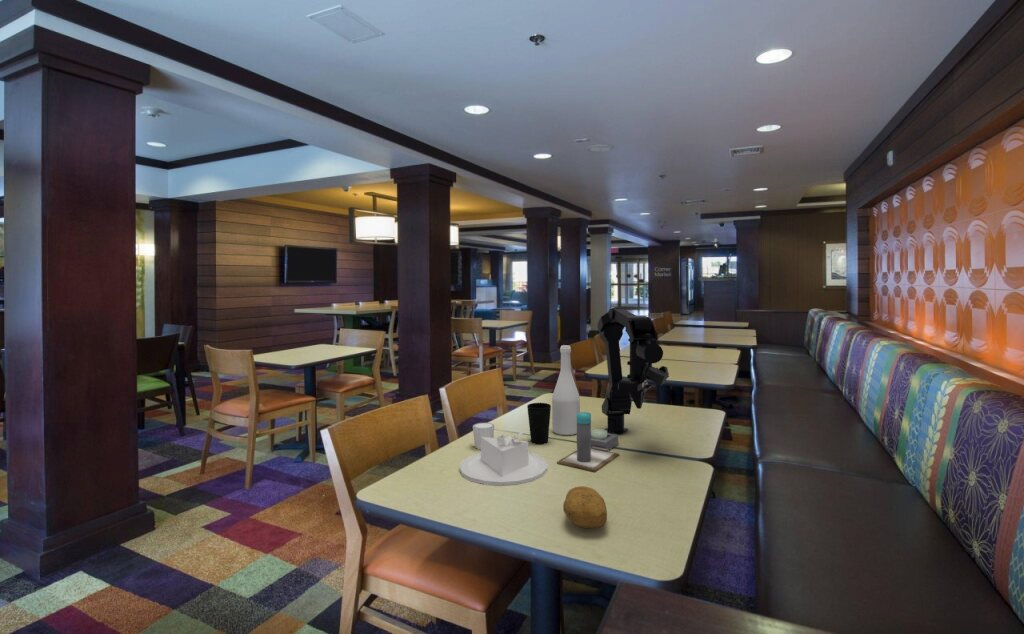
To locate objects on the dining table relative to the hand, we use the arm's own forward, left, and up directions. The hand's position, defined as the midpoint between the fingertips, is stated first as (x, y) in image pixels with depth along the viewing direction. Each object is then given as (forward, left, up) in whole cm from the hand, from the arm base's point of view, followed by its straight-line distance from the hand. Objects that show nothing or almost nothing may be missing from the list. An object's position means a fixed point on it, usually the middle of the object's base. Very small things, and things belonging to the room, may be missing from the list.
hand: (639, 408), depth 158 cm
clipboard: (+16, -9, -13) cm, 22 cm away
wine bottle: (-4, -28, -13) cm, 31 cm away
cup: (+10, -30, -13) cm, 34 cm away
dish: (+35, -26, -14) cm, 46 cm away
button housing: (+3, -12, -13) cm, 18 cm away
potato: (+51, +8, -13) cm, 53 cm away
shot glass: (+24, -42, -13) cm, 50 cm away
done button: (+3, -12, -12) cm, 17 cm away
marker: (+19, -9, -12) cm, 24 cm away
